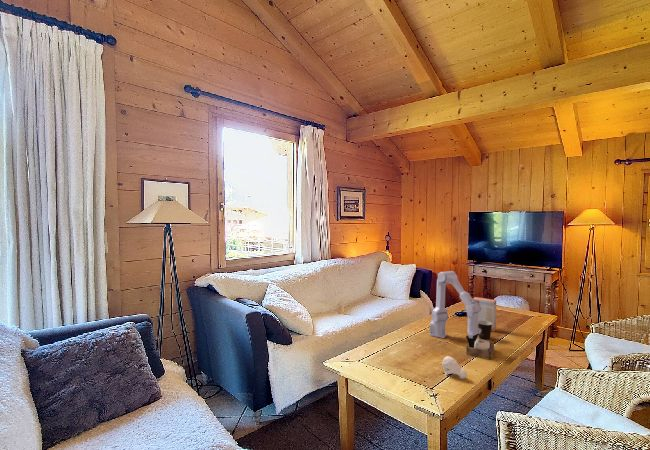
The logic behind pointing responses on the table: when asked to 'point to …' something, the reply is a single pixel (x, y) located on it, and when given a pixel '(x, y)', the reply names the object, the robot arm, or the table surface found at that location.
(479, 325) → the coffee mug
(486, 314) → the cracker box
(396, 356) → the table surface
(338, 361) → the table surface
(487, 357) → the cradle
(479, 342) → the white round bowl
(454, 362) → the white rounded piece
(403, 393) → the table surface
